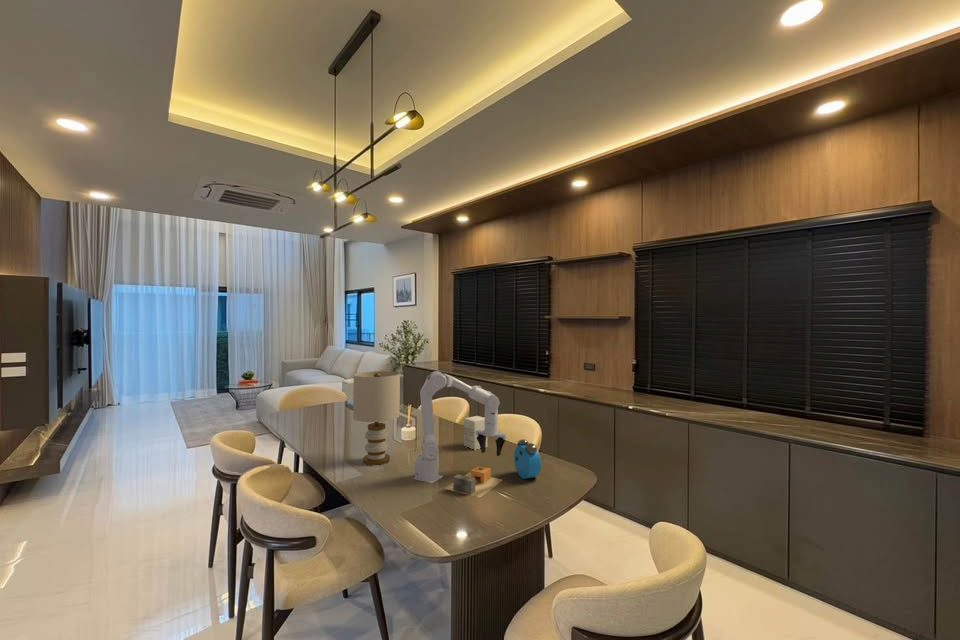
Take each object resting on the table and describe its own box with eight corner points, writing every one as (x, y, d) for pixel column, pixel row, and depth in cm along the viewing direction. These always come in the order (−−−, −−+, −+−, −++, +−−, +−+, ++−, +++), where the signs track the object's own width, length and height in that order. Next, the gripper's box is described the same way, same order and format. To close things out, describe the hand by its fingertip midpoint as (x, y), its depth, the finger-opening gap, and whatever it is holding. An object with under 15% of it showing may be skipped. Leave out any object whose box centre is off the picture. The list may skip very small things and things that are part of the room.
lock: (471, 480, 159) (471, 469, 159) (478, 475, 165) (478, 464, 165) (483, 483, 156) (483, 471, 156) (490, 478, 162) (491, 467, 162)
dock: (444, 489, 151) (444, 475, 152) (469, 473, 168) (469, 460, 168) (479, 498, 144) (479, 484, 144) (502, 480, 160) (502, 467, 160)
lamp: (372, 473, 167) (372, 377, 168) (343, 462, 180) (344, 373, 180) (408, 459, 184) (409, 372, 185) (380, 450, 197) (380, 369, 197)
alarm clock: (541, 482, 159) (541, 445, 159) (528, 484, 157) (528, 446, 157) (525, 470, 171) (525, 436, 171) (513, 472, 169) (513, 438, 169)
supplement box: (477, 443, 210) (477, 415, 211) (487, 447, 204) (488, 418, 204) (463, 446, 205) (463, 417, 205) (474, 450, 198) (474, 421, 198)
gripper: (510, 422, 168) (510, 454, 168) (481, 418, 175) (480, 448, 175) (503, 426, 162) (502, 458, 162) (473, 421, 169) (472, 452, 169)
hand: (490, 453), depth 168 cm, fingers open, 7 cm apart
